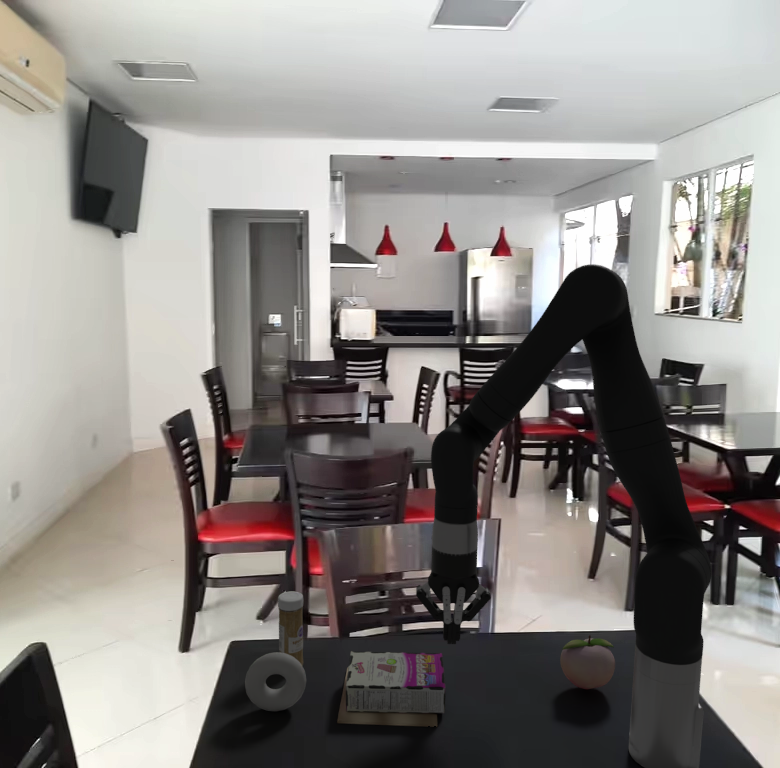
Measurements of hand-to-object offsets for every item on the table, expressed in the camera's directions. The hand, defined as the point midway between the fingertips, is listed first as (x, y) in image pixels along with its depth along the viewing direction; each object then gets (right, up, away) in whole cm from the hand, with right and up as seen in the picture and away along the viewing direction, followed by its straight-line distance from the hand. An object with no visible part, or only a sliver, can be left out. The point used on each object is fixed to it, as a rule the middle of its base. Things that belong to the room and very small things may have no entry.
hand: (451, 641), depth 121 cm
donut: (-29, -11, -2) cm, 31 cm away
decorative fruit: (+24, -10, +4) cm, 27 cm away
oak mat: (-10, -10, +2) cm, 14 cm away
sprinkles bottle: (-29, -8, +11) cm, 32 cm away
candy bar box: (-1, -7, +1) cm, 7 cm away
